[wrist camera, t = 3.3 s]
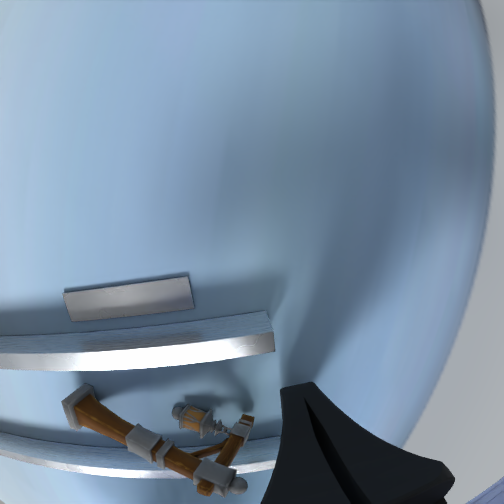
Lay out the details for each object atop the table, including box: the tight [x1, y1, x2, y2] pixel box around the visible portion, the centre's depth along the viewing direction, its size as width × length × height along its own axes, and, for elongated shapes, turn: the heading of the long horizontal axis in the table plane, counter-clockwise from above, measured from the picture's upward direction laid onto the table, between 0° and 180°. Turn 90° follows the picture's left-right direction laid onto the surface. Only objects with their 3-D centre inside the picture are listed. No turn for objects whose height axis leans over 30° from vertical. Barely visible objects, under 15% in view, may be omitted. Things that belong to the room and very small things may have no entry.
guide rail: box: [0, 276, 281, 479], centre depth 10 cm, size 10×26×2 cm, turn 97°
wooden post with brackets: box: [61, 383, 254, 498], centre depth 11 cm, size 2×8×4 cm, turn 83°
